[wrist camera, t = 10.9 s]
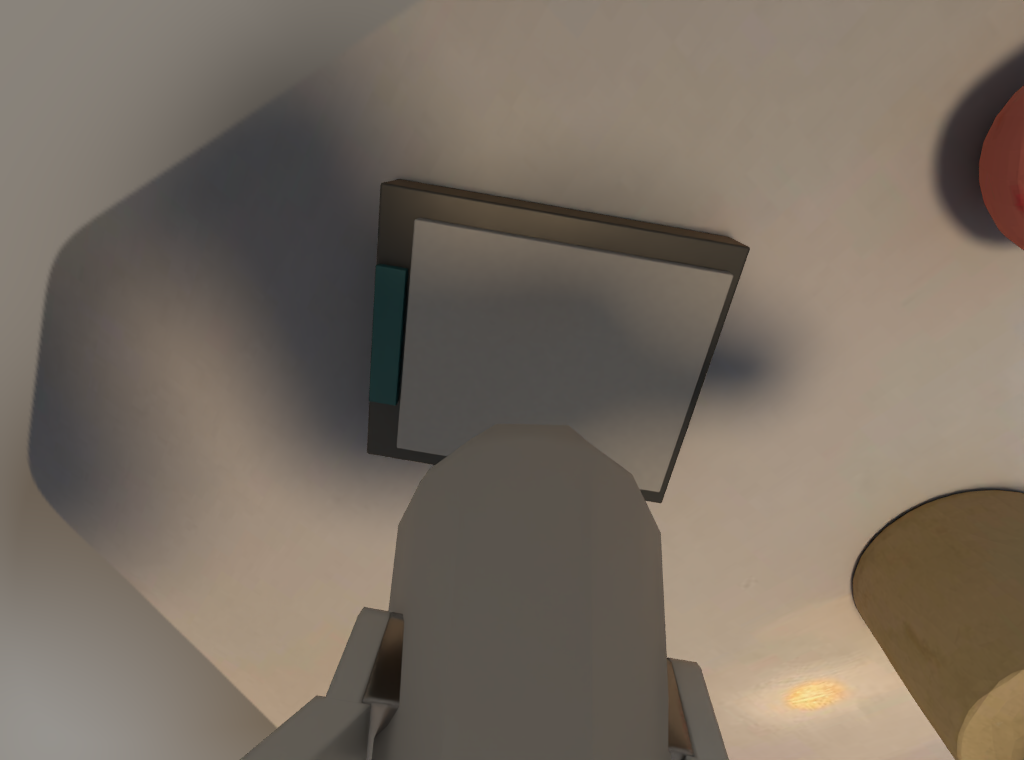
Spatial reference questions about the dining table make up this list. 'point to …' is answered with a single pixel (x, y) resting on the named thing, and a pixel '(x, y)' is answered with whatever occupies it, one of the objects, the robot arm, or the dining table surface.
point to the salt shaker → (529, 607)
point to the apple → (1005, 169)
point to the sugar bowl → (954, 616)
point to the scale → (540, 325)
